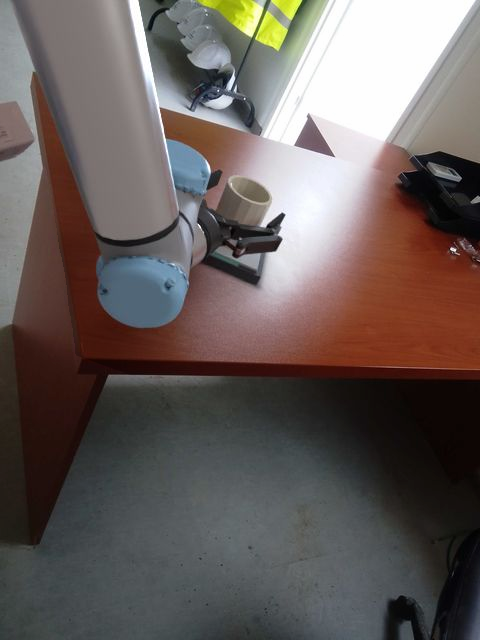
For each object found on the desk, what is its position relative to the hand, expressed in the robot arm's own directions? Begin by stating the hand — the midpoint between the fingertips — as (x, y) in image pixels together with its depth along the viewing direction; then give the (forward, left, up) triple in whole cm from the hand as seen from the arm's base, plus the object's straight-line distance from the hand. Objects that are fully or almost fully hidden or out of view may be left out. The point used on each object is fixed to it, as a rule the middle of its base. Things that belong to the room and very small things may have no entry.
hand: (249, 198), depth 81 cm
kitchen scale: (-1, -3, -10) cm, 10 cm away
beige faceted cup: (-1, -3, -7) cm, 8 cm away
